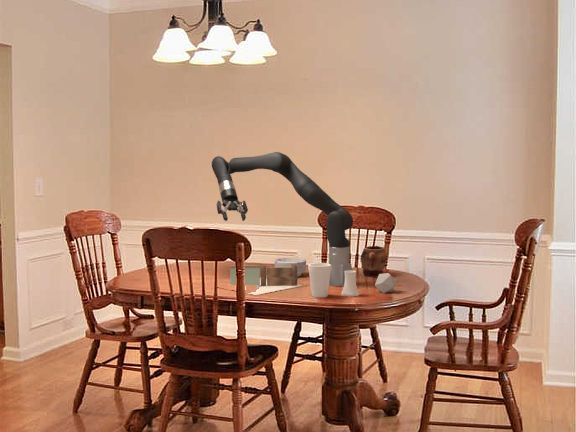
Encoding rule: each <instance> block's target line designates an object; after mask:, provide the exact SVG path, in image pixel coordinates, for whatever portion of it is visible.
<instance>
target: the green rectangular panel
mask: <svg viewBox="0 0 576 432" xmlns="http://www.w3.org/2000/svg"><path fill="white" fill-rule="evenodd" d="M229 272H230V273H229V274H230V275H229V277H230V279H229V280H230V283H229V284H230V285H236V269H235V265H230V266H229ZM260 279H261V264H260V265H259V264H258V265H257V264H255V265H253V264H251V265H249V264H248V265H245V285H260Z"/></svg>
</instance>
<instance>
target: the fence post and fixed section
mask: <svg viewBox="0 0 576 432" xmlns="http://www.w3.org/2000/svg"><path fill="white" fill-rule="evenodd" d="M260 279H261V286H266V279H267V286H297V284H298V277H297V265H296V264H293V265H292V267H275V266H274V267H267V265H266V264H260Z"/></svg>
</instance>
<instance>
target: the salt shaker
mask: <svg viewBox="0 0 576 432" xmlns="http://www.w3.org/2000/svg"><path fill="white" fill-rule="evenodd" d="M344 273H345V283H344V286H343V288H342V291H341V294H340V295H341V296H342V297H346V296H347V297H348V298H350V297H354V296H355V297H358V296H360V292H359V290H358V287H357V282H356V273H357V270H347V271H344Z"/></svg>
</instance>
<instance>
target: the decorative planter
mask: <svg viewBox="0 0 576 432" xmlns="http://www.w3.org/2000/svg"><path fill="white" fill-rule="evenodd" d="M385 251H386V249H385V247H384V246H379V245H372V246H371V245H369V246H366V247H364V248H363V249H362V252H361V254H360V263H361V267H362V274H363V276H364V277H368V278H369V277H370V278H371V277H372V278H373V277H374V278H376V277H377V278H378V276H379V274H384V268H385V265H386V263H387V254H386V253H385Z"/></svg>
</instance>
